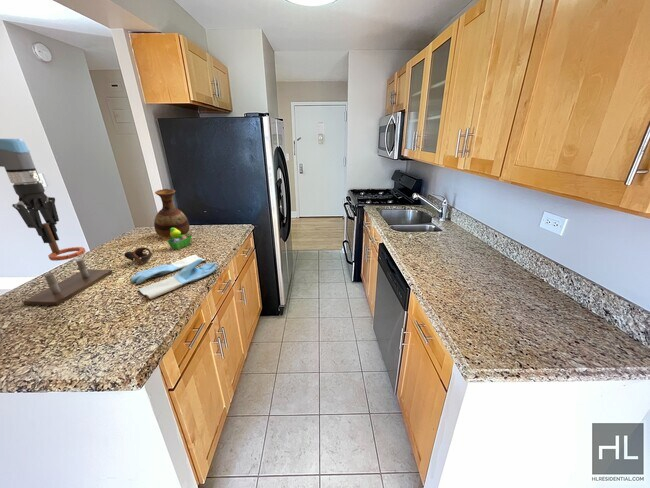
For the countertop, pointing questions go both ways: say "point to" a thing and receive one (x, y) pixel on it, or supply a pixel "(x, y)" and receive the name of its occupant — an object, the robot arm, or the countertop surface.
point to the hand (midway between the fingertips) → (51, 241)
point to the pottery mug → (138, 255)
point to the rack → (67, 286)
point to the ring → (56, 250)
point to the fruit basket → (178, 239)
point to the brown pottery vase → (169, 215)
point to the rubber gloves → (171, 283)
